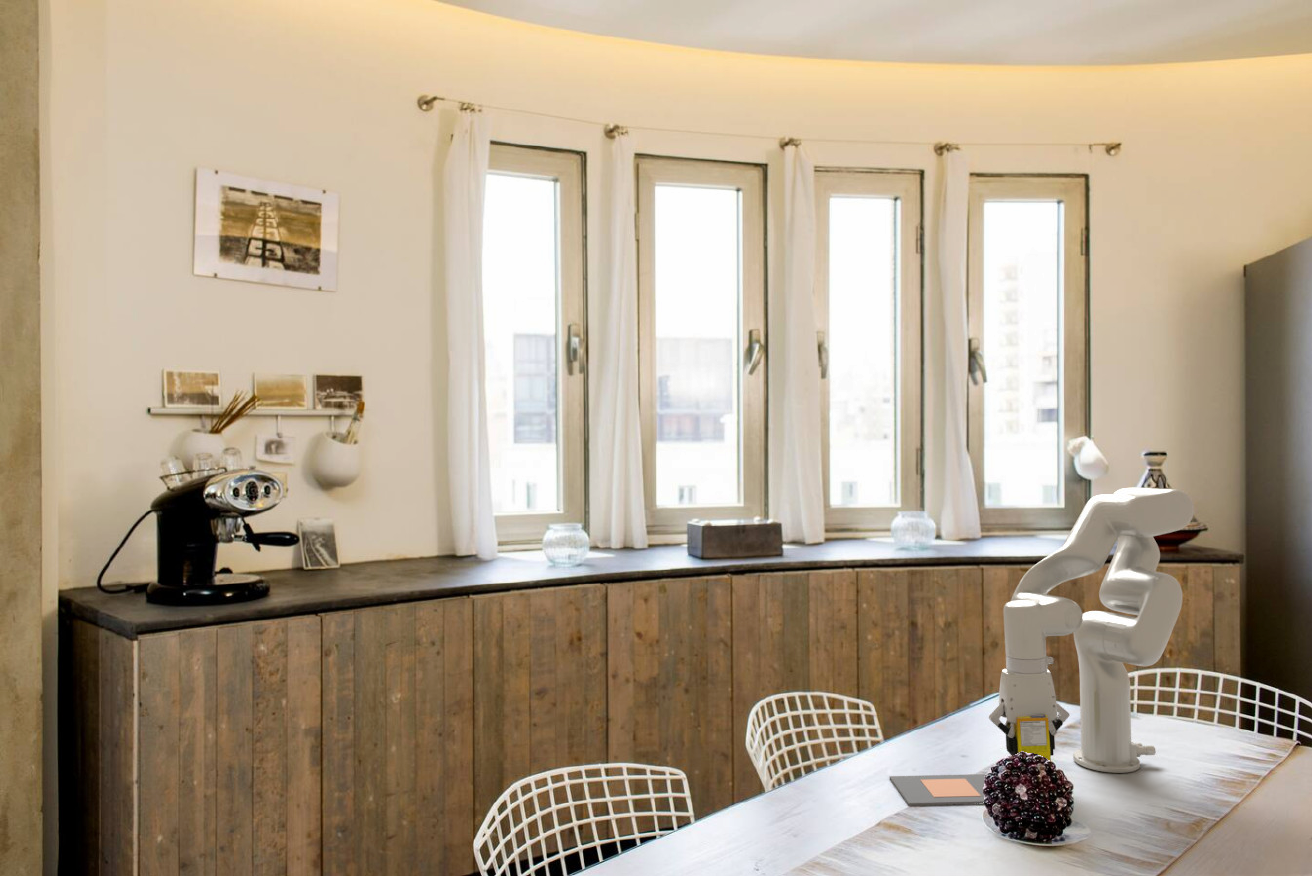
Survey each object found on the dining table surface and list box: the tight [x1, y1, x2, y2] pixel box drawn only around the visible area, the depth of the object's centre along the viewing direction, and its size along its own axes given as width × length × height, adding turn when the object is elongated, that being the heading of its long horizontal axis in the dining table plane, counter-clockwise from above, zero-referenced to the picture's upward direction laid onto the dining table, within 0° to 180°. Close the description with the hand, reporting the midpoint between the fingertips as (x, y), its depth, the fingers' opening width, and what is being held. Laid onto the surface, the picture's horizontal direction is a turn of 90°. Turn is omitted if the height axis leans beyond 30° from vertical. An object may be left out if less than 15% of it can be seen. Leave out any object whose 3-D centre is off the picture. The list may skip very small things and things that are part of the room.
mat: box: [889, 773, 986, 807], centre depth 183 cm, size 20×14×1 cm
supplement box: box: [1015, 715, 1052, 762], centre depth 185 cm, size 6×6×11 cm
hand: (1030, 753), depth 185 cm, fingers closed on supplement box, 6 cm apart
